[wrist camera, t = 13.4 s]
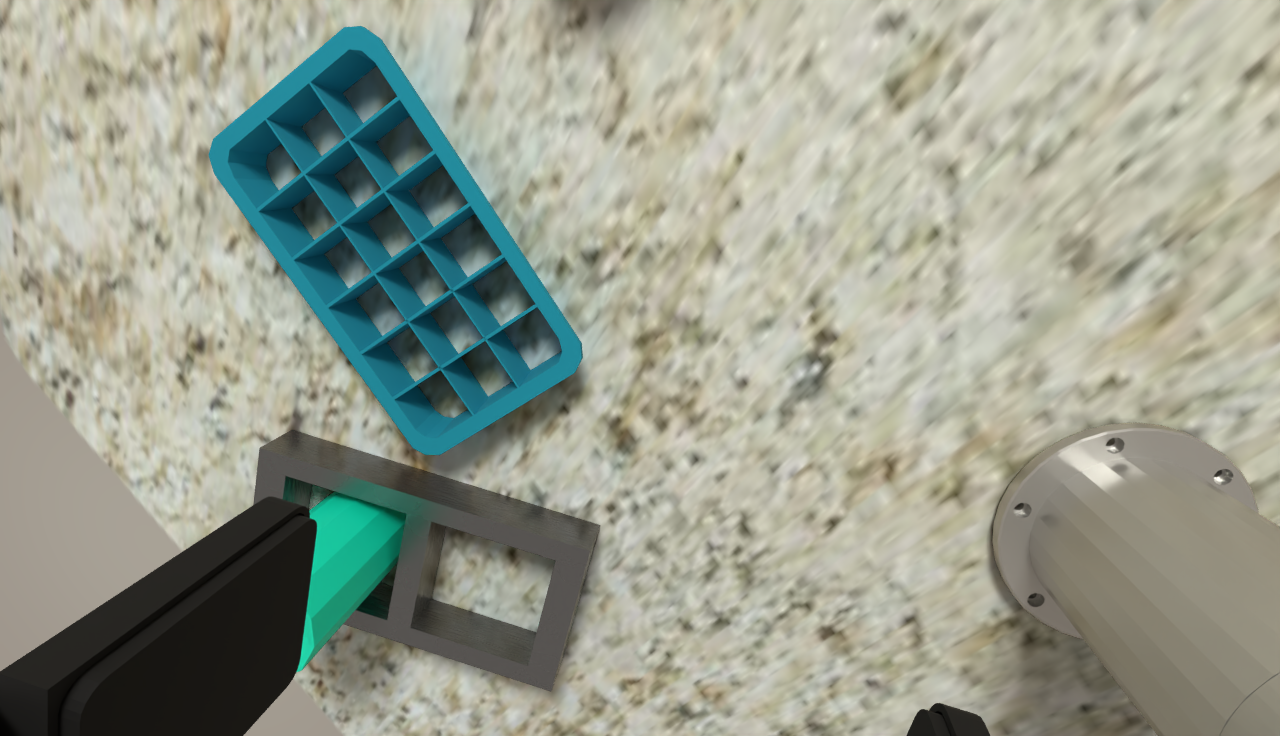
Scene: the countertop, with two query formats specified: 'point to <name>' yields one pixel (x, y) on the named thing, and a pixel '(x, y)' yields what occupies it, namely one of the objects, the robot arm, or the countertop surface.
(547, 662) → the hollow block
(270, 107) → the ice cube tray
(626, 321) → the countertop surface
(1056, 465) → the robot arm
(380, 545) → the candle
